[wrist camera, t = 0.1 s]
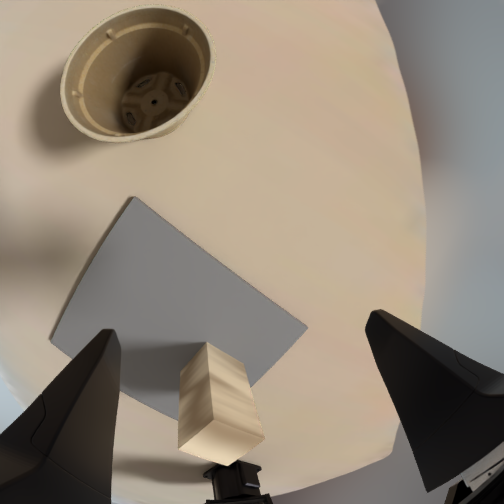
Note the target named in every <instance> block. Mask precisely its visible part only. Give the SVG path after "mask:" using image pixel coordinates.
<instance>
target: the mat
mask: <svg viewBox="0 0 504 504" xmlns="http://www.w3.org/2000/svg"><path fill="white" fill-rule="evenodd" d="M104 328H107V329H114V330H115V331H116V334H117V337H118V340H119V342H120V345H121V370H120V391H122V392H123V393H125V394H127V395H129V396H130V397H132V398H134V399H136V400H137V401H139V402H141V403H143V404H145V405H147V406H149V407H151V408H153V409H154V410H156V411H158V412H160V413H162V414H164V415H167V416H169V417H171V418H173V419H175V420H177V421H178V418H179V390H180V371H181V370H182V369H183V368H184V367H185V366H186V365H187V364H188V362H189V361H190V360H191V359H192V358H193V357H194V356H195V355H196V353H197V352H198V351H199V350H200V349H201V348H202V347H203V346H204V344H205V343H206V342H208V343H209V344H211V345H213V346H214V347H216V348H218V349H219V350H221V351H223V352H224V353H226V354H228V355H230V356H231V357H233V358H235V359H236V360H238V361H240V362H242V363H244V367H245V370H246V374H247V378H248V381H249V385H250V388H251V387H252V386H253V385H254V384H255V383H256V382H257V381H258V380H259V379H260V378H261V377H262V376H263V375H264V374H265V373H266V372H267V371H268V370H269V369H270V368H271V367H272V366H273V365H274V364H275V363H276V362H277V361H278V360H279V359H280V358H281V357H282V356H283V355H284V354H285V353H286V352H287V351H288V350H289V349H290V347H291V346H292V345H293V344H294V343H295V342H296V341H297V340H298V339H299V338H300V337H301V336H302V335H303V333H304V332H305V331H306V330H307V329H308V327H307V326H306V325H305V324H303V323H302V322H301V321H299V320H298V319H297V318H295V317H294V316H292V315H291V314H290V313H288V312H287V311H285V310H284V309H283V308H281V307H280V306H279V305H277V304H276V303H274V302H273V301H272V300H270V299H269V298H268V297H266V296H265V295H264V294H262V293H261V292H259V291H258V290H257V289H255V288H254V287H253V286H251V285H250V284H249V283H247V282H246V281H245V280H243V279H242V278H241V277H239V276H238V275H237V274H235V273H234V272H233V271H231V270H230V269H229V268H227V267H226V266H225V265H223V264H222V263H221V262H219V261H218V260H217V259H215V258H214V257H213V256H211V255H210V254H209V253H207V252H206V251H205V250H204V249H202V248H201V247H200V246H198V245H197V244H196V243H194V242H193V241H192V240H191V239H189V238H188V237H187V236H185V235H184V234H183V233H181V232H180V231H179V230H178V229H176V228H175V227H174V226H172V225H171V224H170V223H169V222H167V221H166V220H165V219H164V218H162V217H161V216H160V215H158V214H157V213H156V212H155V211H153V210H152V209H151V208H150V207H148V206H147V205H146V204H145V203H143V202H142V201H141V200H140V199H138V198H137V197H134V198H133V199H132V201H131V202H130V203H129V205H128V206H127V208H126V209H125V211H124V212H123V214H122V215H121V216H120V218H119V219H118V221H117V222H116V224H115V225H114V227H113V228H112V230H111V232H110V233H109V235H108V236H107V238H106V239H105V241H104V242H103V244H102V246H101V247H100V249H99V251H98V252H97V254H96V256H95V257H94V259H93V261H92V262H91V264H90V266H89V267H88V269H87V271H86V273H85V274H84V276H83V278H82V280H81V282H80V283H79V285H78V287H77V289H76V291H75V293H74V295H73V296H72V298H71V300H70V302H69V304H68V306H67V308H66V310H65V312H64V314H63V316H62V318H61V320H60V322H59V325H58V327H57V329H56V331H55V333H54V335H53V338H52V340H51V343H52V344H53V345H54V346H56V347H57V348H58V349H60V350H61V351H62V352H63V353H65V354H66V355H67V356H69V357H70V358H72V359H73V358H74V357H75V356H76V355H77V354H78V353H79V352H80V351H81V350H82V349H83V348H84V347H85V346H86V345H87V344H88V343H89V342H90V341H91V340H92V339H93V338H94V337H95V336H96V335H97V334H98V333H99V332H100V331H101V330H102V329H104Z"/></svg>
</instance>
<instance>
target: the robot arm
mask: <svg viewBox="0 0 504 504" xmlns="http://www.w3.org/2000/svg"><path fill="white" fill-rule="evenodd" d="M365 332H366V336H367V338H368V341H369V344H370V347H371V350H372V353H373V356H374V359H375V362H376V364H377V367H378V369H379V372H380V374H381V376H382V378H383V381H384V383H385V385H386V387H387V390H388V392H389V394H390V397H391V399H392V401H393V404H394V406H395V408H396V411H397V413H398V416H399V418H400V421H401V423H402V425H403V428H404V430H405V433H406V435H407V438H408V441H409V443H410V446H411V448H412V451H413V454H414V457H415V460H416V463H417V465H418V468H419V471H420V474H421V476H422V480H423V483H424V486H425V488H426V491H427V493H428V492H430V491H432V490H434V489H436V488H437V487H439V486H441V485H443V484H444V483H446V482H448V481H449V480H451V479H453V478H454V477H456V476H457V475H459V474H460V475H461V477H462V479H461V480H459V481H458V482H457V483H455V484H454V485H453V486H451V487H450V488H449V491H448V494H447V497H446V500H445V503H444V504H504V374H503V373H500V372H498V371H496V370H493V369H491V368H489V367H487V366H484V365H483V364H481V363H478V362H476V361H475V360H472V359H470V358H469V357H467V356H465V355H463V354H461V353H459V352H458V351H456V350H453V349H452V348H450V347H449V346H447V345H445V344H443V343H442V342H440V341H438V340H436V339H435V338H433V337H431V336H429V335H427V334H426V333H424V332H422V331H420V330H418V329H417V328H415V327H413V326H411V325H409V324H408V323H406V322H404V321H402V320H400V319H399V318H397V317H395V316H393V315H391V314H390V313H388V312H386V311H384V310H382V309H379V310H373V311H372V312H371V313H370V316H369V319H368V321H367V324H366V327H365ZM120 370H121V345H120V342H119V340H118V337H117V334H116V331H115V330H114V329H107V328H104V329H102V330H101V331H100V332H99V333H98V334H97V335H96V336H95V337H94V338H93V339H92V340H91V341H90V342H89V343H88V344H87V345H86V346H85V347H84V348H83V349H82V350H81V351H80V352H79V353H78V354H77V355H76V356H75V357H74V358H73V359H72V360H71V361H70V363H69V364H68V365H67V366H66V367H65V368H64V369H63V370H62V371H61V372H60V373H59V374H58V375H57V376H56V377H55V379H54V380H53V381H52V382H51V383H50V384H49V385H48V386H47V387H46V388H45V390H44V391H43V392H42V394H40V395H39V396H38V397H37V398H36V399H35V401H34V402H33V403H32V404H31V405H30V406H29V407H28V408H27V409H26V410H25V411H24V412H23V413H22V414H21V415H20V416H19V417H18V418H17V419H16V420H15V421H14V422H13V423H12V424H11V425H10V426H9V427H8V428H6V430H4V431H3V432H2V434H0V504H111V479H112V459H113V446H114V434H115V425H116V416H117V408H118V400H119V392H120ZM261 470H262V469H261V467H260V466H256V465H252V464H249V463H245V462H241V461H238V460H236V461H234V462H233V463H231V464H230V465H229V466H225V465H222V464H218V465H216V466H215V467H213V468H212V469H210V470H209V471H207V472H206V473H204V474H203V477H204V478H208V479H211V480H212V485H213V492H214V500H206V503H205V504H273V503H272V500H271V498H270V495H269V493H268V494H265V495H261V494H260V490H259V487H260V483H259V480H258V476H257V473H258V472H259V471H261Z"/></svg>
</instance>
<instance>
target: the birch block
mask: <svg viewBox="0 0 504 504" xmlns="http://www.w3.org/2000/svg"><path fill="white" fill-rule="evenodd" d="M264 439H265V437H264V433H263V430H262V427H261V423H260V420H259V416H258V413H257V410H256V406H255V403H254V399H253V396H252V392H251V389H250V385H249V381H248V378H247V374H246V370H245V367H244V363H242V362H240V361H238V360H236V359H235V358H233V357H231V356H230V355H228V354H226V353H224V352H223V351H221V350H219V349H218V348H216V347H214V346H213V345H211V344H209V343H208V342H206V343H205V344H204V346H203V347H202V348H201V349H200V350H199V351H198V352H197V353H196V355H195V356H194V357H193V358H192V359H191V360H190V361H189V362H188V364H187V365H186V366H185V367H184V368H183V369H182V370H181V371H180V390H179V418H178V450H181V451H184V452H186V453H189V454H192V455H194V456H197V457H200V458H203V459H206V460H209V461H212V462H215V463H219V464H222V465H225V466H229V465H230V464H231V463H233V462H234V461H236V460H237V459H239V458H240V457H242V456H243V455H244V454H246V453H247V452H248V451H250V450H251V449H253V448H254V447H255V446H257V445H258V444H259V443H261V442H262V441H263V440H264Z"/></svg>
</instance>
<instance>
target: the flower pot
mask: <svg viewBox="0 0 504 504" xmlns="http://www.w3.org/2000/svg"><path fill="white" fill-rule="evenodd" d="M215 65H216V49H215V44H214V40H213V38H212V36H211V34H210V32H209V31H208V29H207V28H206V27H205V25H204V24H203V23H202V22H201V21H200V20H199V19H198V18H196V17H195V16H194V15H192V14H190V13H189V12H187V11H185V10H182V9H180V8H176V7H173V6H168V5H159V4H158V5H142V6H136V7H132V8H128V9H124V10H122V11H119V12H118V13H115V14H113V15H111V16H109V17H108V18H106V19H104V20H103V21H101V22H100V23H99V24H97V25H96V26H95V27H93V28H92V29H91V30H90V31H89V32H88V33H87V34H86V35H85V36H84V37H83V38H82V39H81V40H80V41H79V42H78V44H77V45H76V46H75V48H74V49H73V51H72V53H71V54H70V56H69V58H68V60H67V62H66V64H65V67H64V70H63V74H62V78H61V85H60V96H61V104H62V107H63V110H64V112H65V114H66V116H67V118H68V119H69V121H70V122H71V124H72V125H73V126H74V127H75V128H76V129H77V130H79V131H80V132H82V133H83V134H85V135H86V136H88V137H90V138H93V139H96V140H99V141H104V142H112V143H123V142H131V141H137V140H141V139H144V138H157V137H162V136H165V135H167V134H169V133H171V132H173V131H174V130H175V129H177V128H178V127H179V126H180V125H181V124H182V123H183V122H184V121H185V119H186V118H187V116H188V114H189V112H190V111H191V110H192V109H193V108H194V107H195V106H196V105H197V103H198V102H199V101H200V99H201V98H202V97H203V95H204V94H205V92H206V90H207V89H208V87H209V85H210V82H211V80H212V77H213V74H214V70H215ZM146 80H149V82H148V83H146V84H145V86H144V85H143V86H141V87H138V85H139V84H141V83H142V82H144V81H146ZM176 83H180V84H181V85H182V86H183V88H184V89H185V93H184V94H181V92H180V90H179V89H178V87H177V86H176V85H175V84H176ZM153 100H156V101H157V103H156V104H152V101H153ZM127 113H131V114H132V116H133V118H134V120H135V121H136V123H135V124H134V125H131V124H130V123H129V120H128V117H127Z"/></svg>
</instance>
